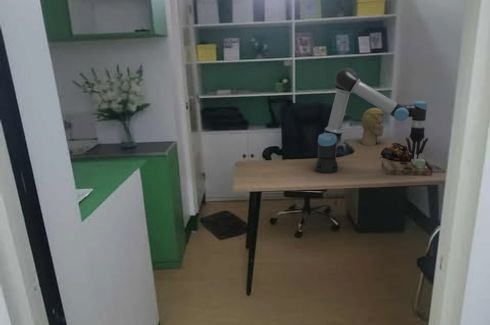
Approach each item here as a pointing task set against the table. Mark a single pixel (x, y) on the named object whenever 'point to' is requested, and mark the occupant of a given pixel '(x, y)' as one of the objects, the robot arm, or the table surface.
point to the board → (406, 168)
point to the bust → (372, 126)
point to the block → (420, 163)
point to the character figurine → (397, 153)
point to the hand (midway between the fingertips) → (414, 163)
